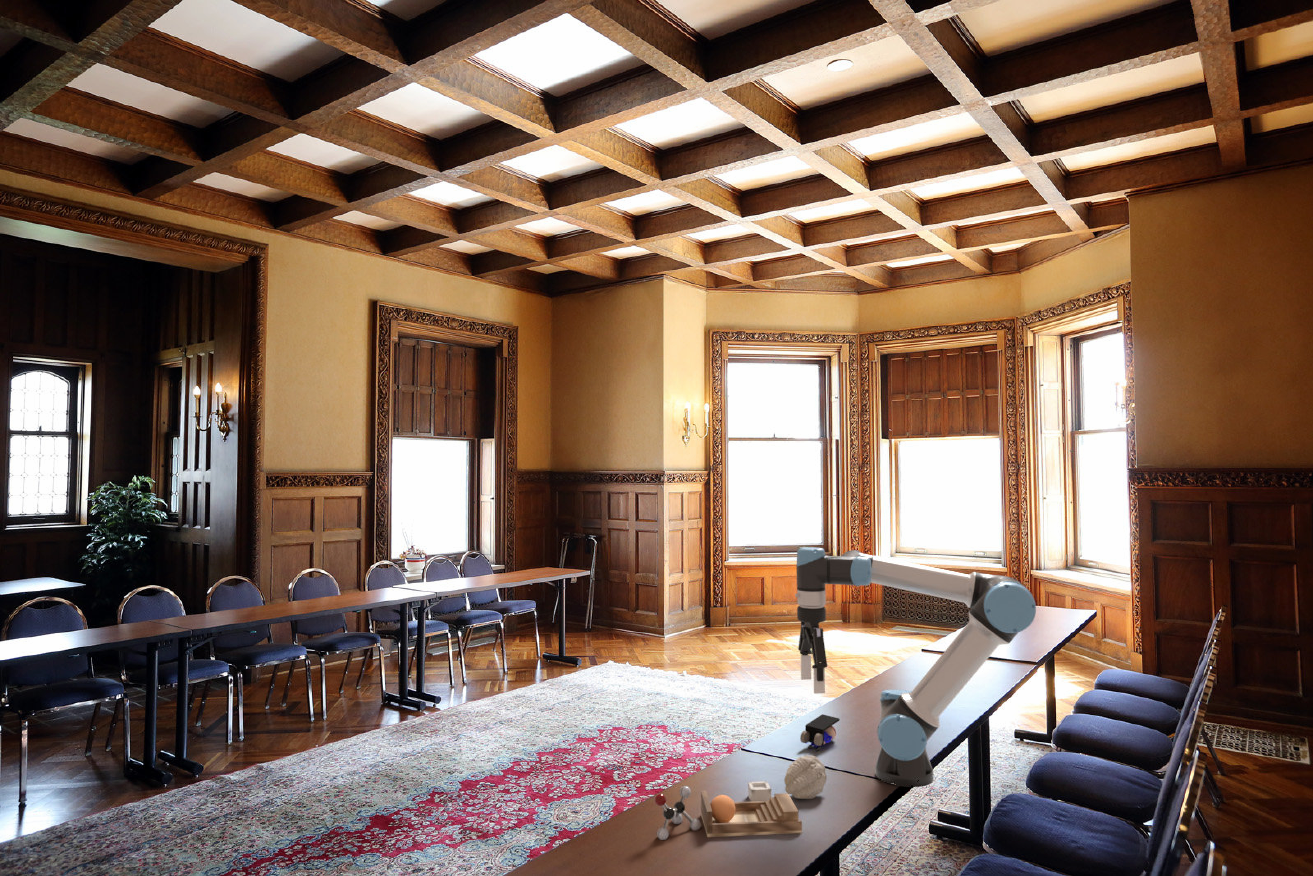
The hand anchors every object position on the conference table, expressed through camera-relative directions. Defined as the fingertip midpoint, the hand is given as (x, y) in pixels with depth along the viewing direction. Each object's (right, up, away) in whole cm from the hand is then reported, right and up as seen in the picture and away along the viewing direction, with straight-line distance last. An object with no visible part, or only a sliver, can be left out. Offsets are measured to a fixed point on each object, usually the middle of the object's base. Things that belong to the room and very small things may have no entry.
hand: (812, 686), depth 213 cm
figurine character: (+4, -25, +25) cm, 36 cm away
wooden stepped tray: (-19, -26, -23) cm, 40 cm away
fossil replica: (-3, -27, -7) cm, 28 cm away
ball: (-26, -22, -24) cm, 41 cm away
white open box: (-15, -27, -9) cm, 32 cm away
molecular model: (-38, -26, -27) cm, 53 cm away
